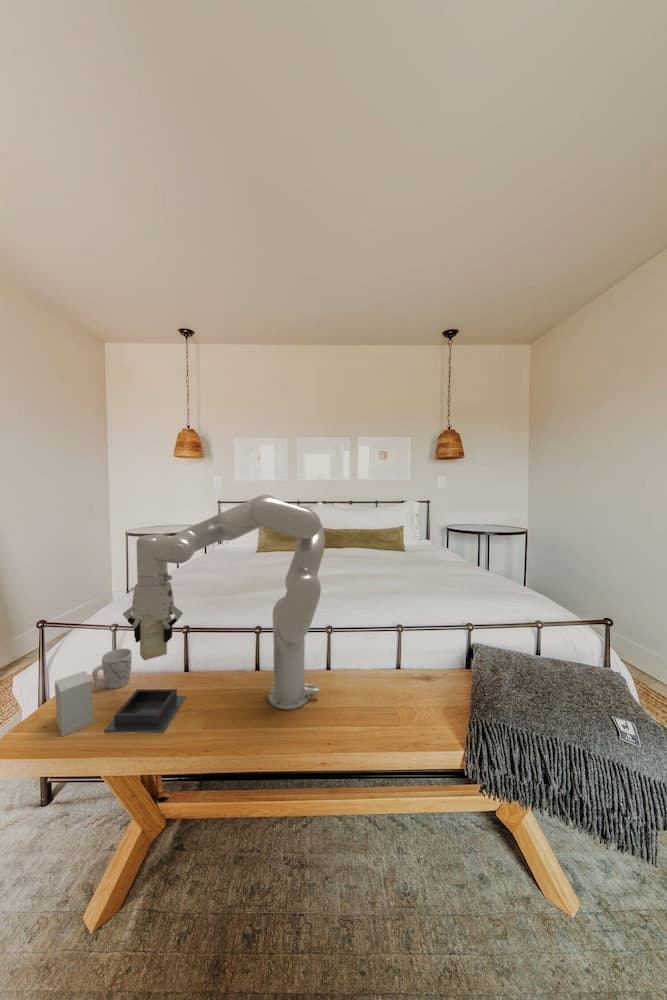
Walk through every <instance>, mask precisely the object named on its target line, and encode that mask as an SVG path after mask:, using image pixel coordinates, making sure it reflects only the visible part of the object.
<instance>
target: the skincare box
mask: <svg viewBox="0 0 667 1000" xmlns="http://www.w3.org/2000/svg"><path fill="white" fill-rule="evenodd" d="M165 628H166V627H165V625H164V624H163V622H162V620H153V618H152V617H151V616H142V620H140V641H139V655H140V657H141V658H142V660H143V661H147V660H151V659H155V658H158V657H162V656H165V655H167V654H168V642H167V643H165V642H164V629H165Z"/></svg>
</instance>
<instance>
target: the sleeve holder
mask: <svg viewBox="0 0 667 1000" xmlns="http://www.w3.org/2000/svg"><path fill="white" fill-rule="evenodd" d="M185 700H186V695H178V690H177V689H176V688H175V689H174V688H173V689H172V688H171V689H167V688H165V689H163V688H162V689H161V688H160V689H157V688H156V689H154V688H153V689H152V688H151V689H150V688H148V689H146V688H145V689H144V688H143V689H142V688H141V689H140V688H138V689H136V690H135V691H134V692H133V693H132V694H131V696H129V698H128V699H127V701H125V703H124V704H123V705H122V706H121V707H120V708H119V709H118V711H117V712H116V713H115V714H114V715H113V716H114V717H113V719H112V720H111V721H110V722H109V724H108V725H107V726H106V727H105V728H104V729H103V733H104V734H106V733H105V732H154V734H160V733H161V734H162V733H163V734H164V733H165V732H166V730H167V728H168V727H169V725H170V724H171V722H172V721H173V719H174V717H175V716H176V714H177V713H176V712H178V711H179V709H180V708H181V706H182V705H181V704H183V703H184V701H185ZM174 715H175V716H174ZM172 718H173V719H172ZM171 720H172V721H171Z"/></svg>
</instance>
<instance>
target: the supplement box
mask: <svg viewBox="0 0 667 1000" xmlns="http://www.w3.org/2000/svg"><path fill="white" fill-rule="evenodd" d="M54 693H55V708H56V709H55V712H56V724H57V727H58V729H59V732H60V735H61V737H65V736H67V735H70V734H72V733H74V732H75V733H76V732H77V731H80V730H83V729H84V728H86V727H90V726H91V725H94V706H93V705H94V703H93V685H92V679H91V677H90V676H89V675H88V673H87V672H86V671H81V672H78V673H76V674H75V673H74V674H72V675H68V676H66V677H63V678H60V679H58V680H57V679H56V680H55V681H54Z"/></svg>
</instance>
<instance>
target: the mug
mask: <svg viewBox="0 0 667 1000" xmlns="http://www.w3.org/2000/svg"><path fill="white" fill-rule="evenodd" d="M132 655H133V653H132V650H131V649H129V648H116V649H112V650H110V651H107V652H106V653H104V654H103V655H102V657H101V664H100V665H98V666H96V667H94V669H93V670H92V672H91V676H92V679H93V682H94V685H95V686H96V687H97V688H102V687H105V686H107V688H108V689H111V690H116V688H117V689H121V688H123V687H125V686H127V684H128V683H129V682H130V677H131V671H132ZM101 670H102V671H103V677H104V680H103V681H102V682H100V680H99V677H98V673H99V671H101ZM120 687H121V688H120Z"/></svg>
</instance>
